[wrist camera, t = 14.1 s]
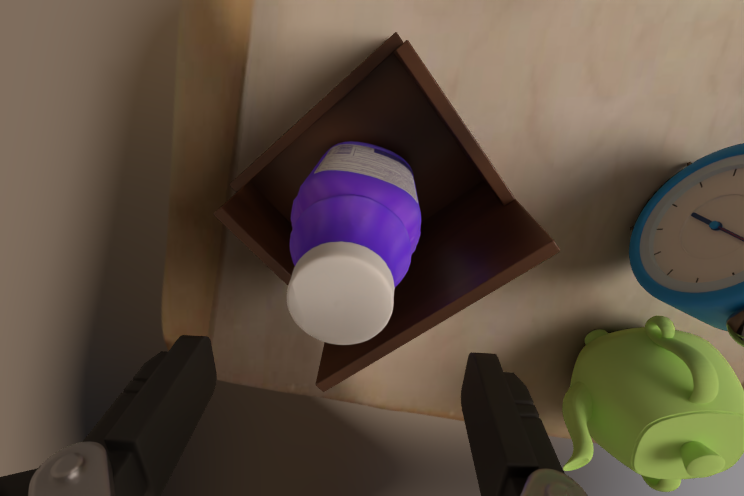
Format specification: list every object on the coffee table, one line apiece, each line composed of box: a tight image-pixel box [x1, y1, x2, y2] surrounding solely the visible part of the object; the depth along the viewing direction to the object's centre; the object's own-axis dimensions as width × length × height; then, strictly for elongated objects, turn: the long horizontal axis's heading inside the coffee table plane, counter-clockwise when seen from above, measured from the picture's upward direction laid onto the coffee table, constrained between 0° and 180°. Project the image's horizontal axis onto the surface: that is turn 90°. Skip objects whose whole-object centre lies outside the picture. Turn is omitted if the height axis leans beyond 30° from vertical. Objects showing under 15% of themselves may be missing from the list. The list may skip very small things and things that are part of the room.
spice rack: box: [213, 32, 560, 392], centre depth 26 cm, size 13×16×16 cm
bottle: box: [287, 141, 421, 345], centre depth 22 cm, size 7×6×17 cm
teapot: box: [562, 316, 744, 492], centre depth 37 cm, size 16×14×13 cm
